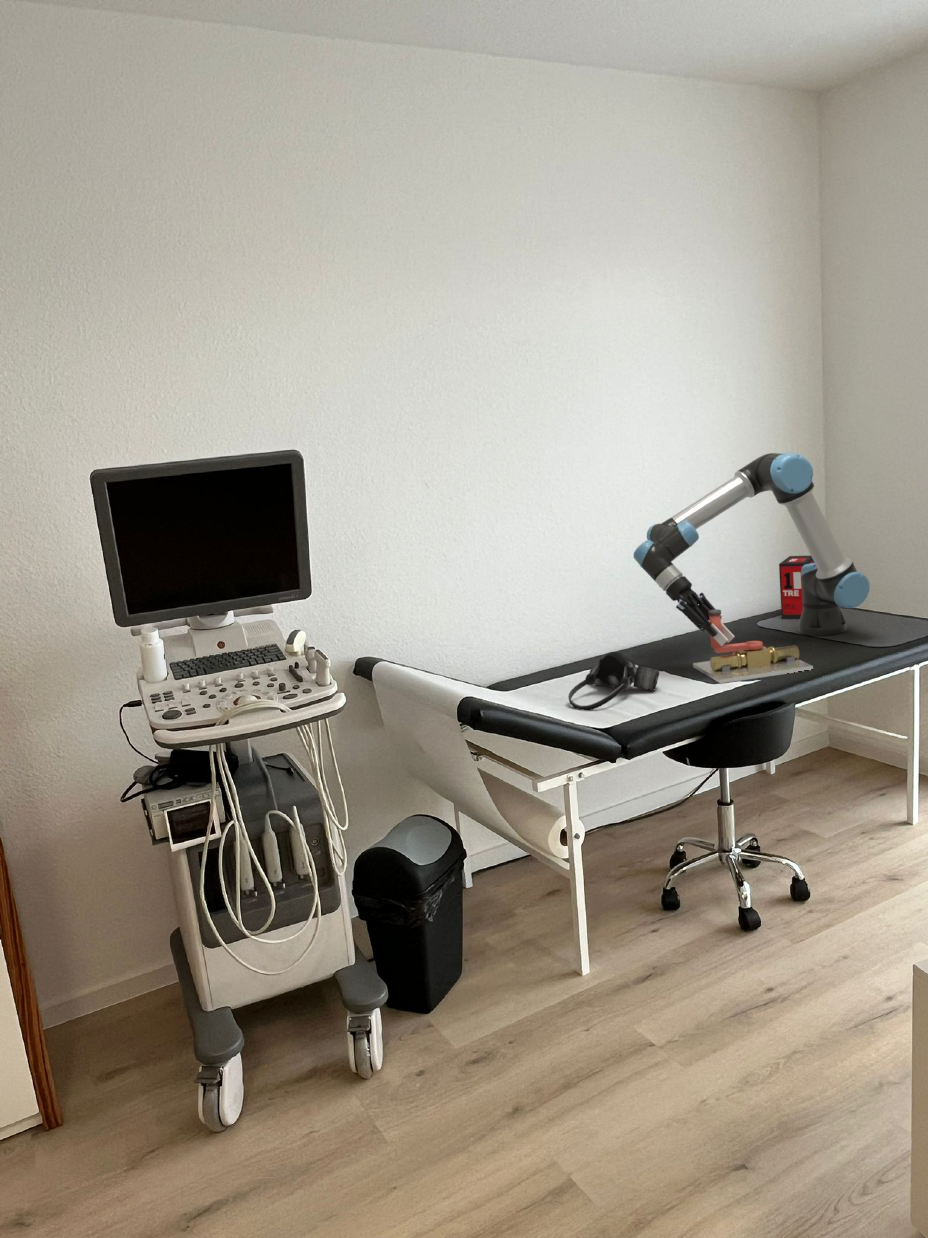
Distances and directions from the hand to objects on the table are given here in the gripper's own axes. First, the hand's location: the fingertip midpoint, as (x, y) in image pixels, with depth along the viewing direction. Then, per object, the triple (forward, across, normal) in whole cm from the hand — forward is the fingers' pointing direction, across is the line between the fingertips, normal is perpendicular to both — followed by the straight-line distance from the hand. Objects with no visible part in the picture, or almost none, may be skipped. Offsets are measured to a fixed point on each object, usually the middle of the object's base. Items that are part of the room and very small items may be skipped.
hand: (728, 641), depth 285 cm
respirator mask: (-8, +32, -22) cm, 40 cm away
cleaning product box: (-2, -80, -17) cm, 82 cm away
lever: (+3, -4, -2) cm, 5 cm away
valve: (+9, -7, -5) cm, 13 cm away
